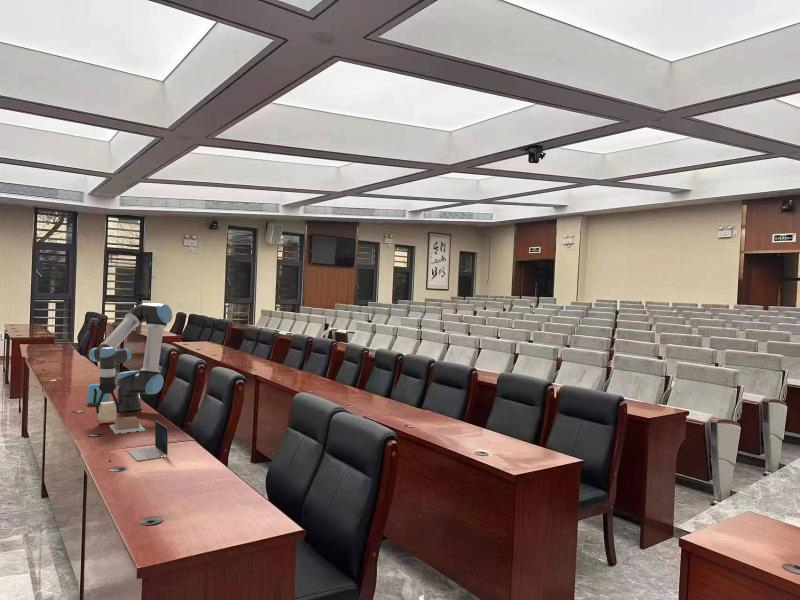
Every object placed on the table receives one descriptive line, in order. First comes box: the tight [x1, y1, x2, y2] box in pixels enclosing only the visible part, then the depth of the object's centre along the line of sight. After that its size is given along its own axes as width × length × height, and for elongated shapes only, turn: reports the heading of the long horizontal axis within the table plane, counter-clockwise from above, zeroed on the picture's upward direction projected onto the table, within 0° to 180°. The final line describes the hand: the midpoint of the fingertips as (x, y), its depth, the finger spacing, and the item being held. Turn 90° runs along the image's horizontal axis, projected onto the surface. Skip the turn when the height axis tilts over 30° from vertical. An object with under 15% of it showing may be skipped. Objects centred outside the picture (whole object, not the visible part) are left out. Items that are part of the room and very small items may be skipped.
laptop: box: [126, 420, 169, 462], centre depth 262 cm, size 18×12×13 cm
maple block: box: [99, 400, 117, 423], centre depth 319 cm, size 7×7×9 cm
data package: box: [87, 383, 111, 404], centre depth 372 cm, size 12×4×12 cm, turn 119°
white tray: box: [109, 415, 146, 435], centre depth 308 cm, size 18×14×5 cm
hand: (107, 418), depth 319 cm, fingers closed on maple block, 7 cm apart
